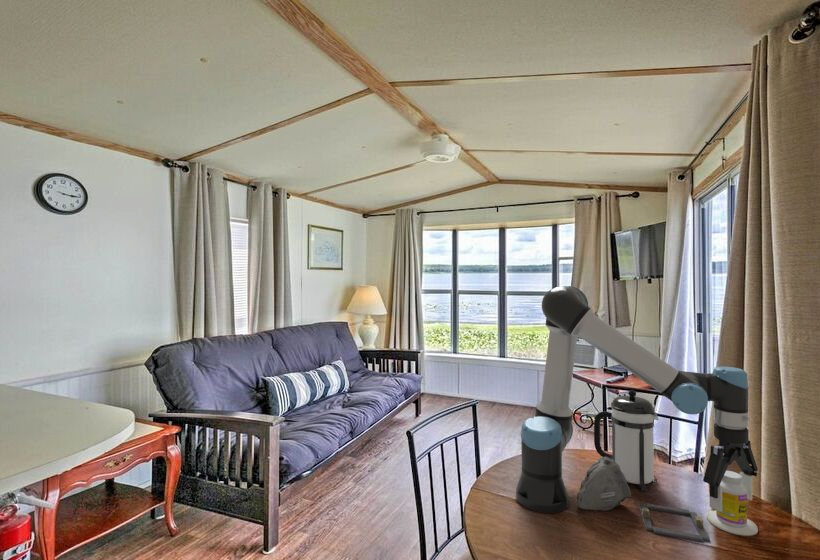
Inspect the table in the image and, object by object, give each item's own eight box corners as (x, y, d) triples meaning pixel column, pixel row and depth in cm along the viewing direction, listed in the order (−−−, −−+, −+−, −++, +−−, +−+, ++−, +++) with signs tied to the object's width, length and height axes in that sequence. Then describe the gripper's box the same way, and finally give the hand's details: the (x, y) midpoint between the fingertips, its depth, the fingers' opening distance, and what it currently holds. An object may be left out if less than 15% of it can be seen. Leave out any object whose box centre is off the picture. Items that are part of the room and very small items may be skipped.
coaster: (713, 530, 111) (713, 528, 111) (701, 509, 121) (701, 507, 121) (765, 539, 107) (765, 537, 107) (748, 517, 117) (748, 514, 117)
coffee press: (646, 470, 146) (645, 384, 146) (667, 494, 130) (666, 397, 130) (593, 468, 148) (593, 383, 148) (608, 490, 132) (607, 395, 132)
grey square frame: (646, 531, 111) (646, 522, 111) (638, 504, 124) (638, 496, 124) (710, 543, 105) (710, 533, 105) (695, 514, 119) (695, 505, 119)
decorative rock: (624, 502, 125) (623, 451, 125) (637, 514, 119) (637, 461, 119) (570, 503, 125) (570, 453, 125) (580, 516, 118) (580, 463, 118)
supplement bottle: (741, 531, 109) (740, 482, 109) (712, 519, 115) (711, 472, 115) (751, 523, 113) (750, 475, 113) (722, 511, 119) (721, 466, 118)
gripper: (717, 436, 105) (718, 521, 105) (773, 422, 116) (773, 499, 116) (687, 427, 112) (687, 506, 112) (742, 414, 122) (742, 487, 122)
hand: (731, 503), depth 114 cm, fingers open, 13 cm apart
